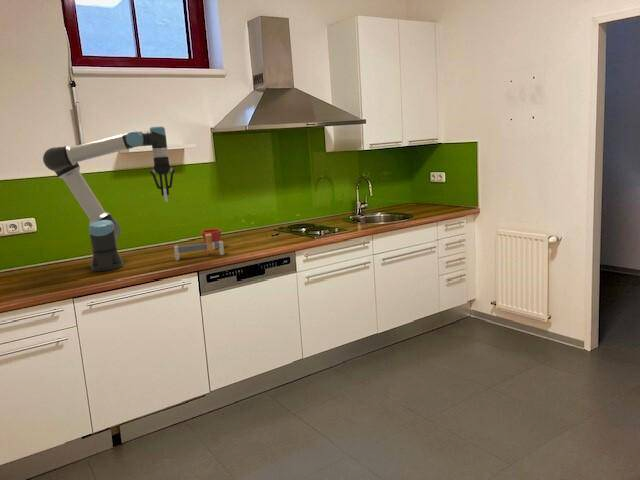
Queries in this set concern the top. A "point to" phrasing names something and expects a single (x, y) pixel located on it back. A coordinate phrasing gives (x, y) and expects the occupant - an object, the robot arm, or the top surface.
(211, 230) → the flower pot
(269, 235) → the top surface
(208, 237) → the collar
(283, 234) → the top surface
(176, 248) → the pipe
